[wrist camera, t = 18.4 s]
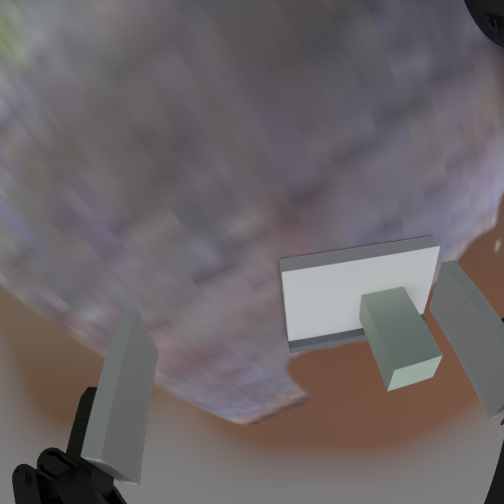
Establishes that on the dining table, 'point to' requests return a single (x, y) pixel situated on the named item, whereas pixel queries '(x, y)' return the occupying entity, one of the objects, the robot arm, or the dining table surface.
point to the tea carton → (398, 338)
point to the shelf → (350, 288)
